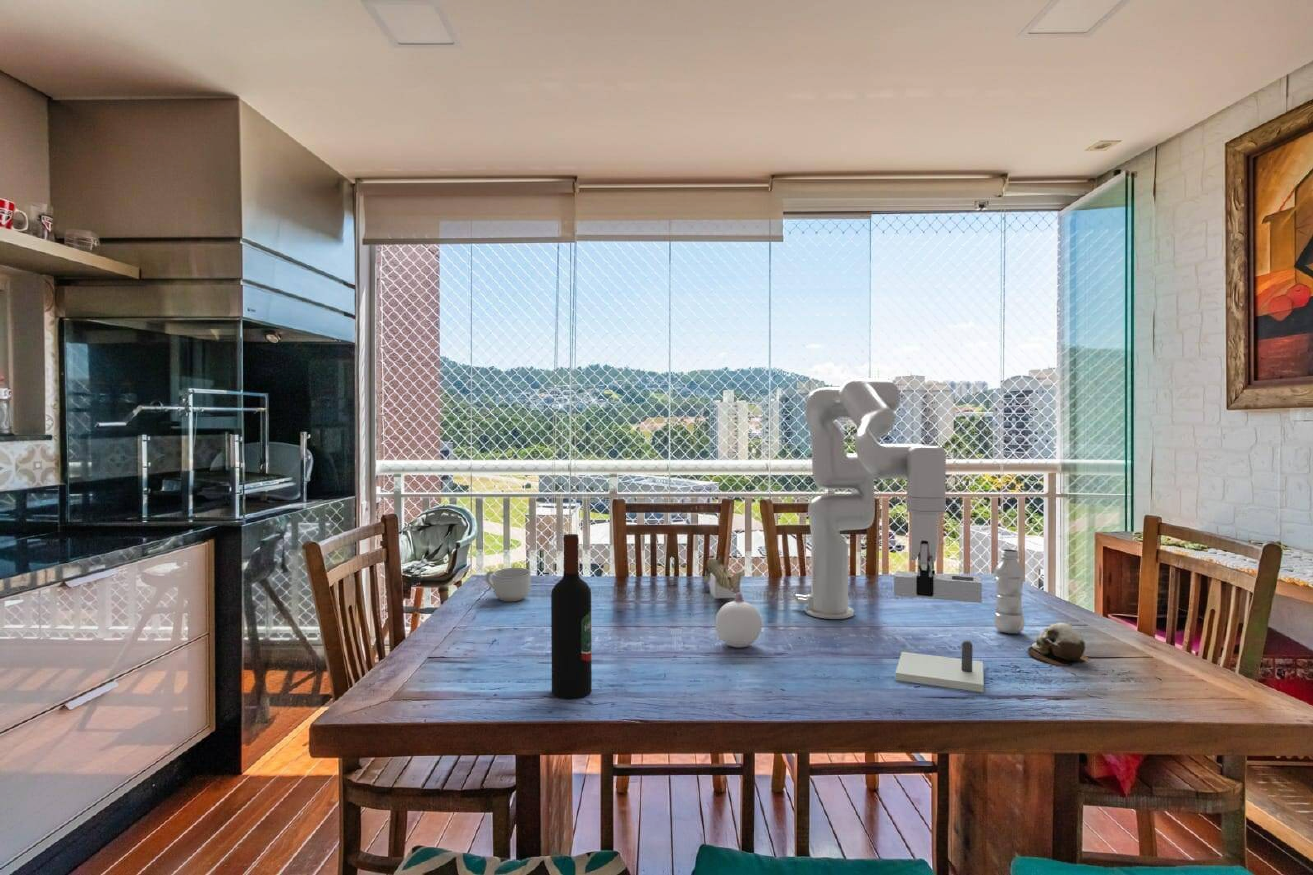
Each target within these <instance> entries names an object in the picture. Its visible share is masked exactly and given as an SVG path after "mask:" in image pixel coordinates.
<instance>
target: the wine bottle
mask: <svg viewBox="0 0 1313 875" xmlns="http://www.w3.org/2000/svg"><path fill="white" fill-rule="evenodd" d="M562 540H563V574H562V578H561V579H560V580H559V581H558V582H556V584H554V586H553V588H552V589H551V594H550V595H551V596H550V600H551V602H550V604H551V606H550V608H551V612H550V613H551V614H550V615H551V618H550V623H551V625H550V628H551V632H550V633H551V644H550V645H551V646H550V647H551V694H552V695H553V696H554V697H555V698H558V699H561V700H562V699H564V700H577V699H582V698H584V697H588V696H589V695H590V694H591V693H592V690H593V689H592V684H593V682H592V681H593V680H592V675H593V674H592V672H593V671H592V591H591V588H590V586H589V585H588V583H587V582H586V581H584V579H582V578H581V577H580V574H579V540H580V538H579V534H577V533H567V534H563V539H562Z"/></svg>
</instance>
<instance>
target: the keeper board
mask: <svg viewBox="0 0 1313 875" xmlns="http://www.w3.org/2000/svg"><path fill="white" fill-rule="evenodd" d="M894 680H895V681H900V682H906V683H915V684H919V685H920V684H921V685H929V686H934V687H935V686H937V687H941V688H950V689H956V690H957V689H958V690H963V691H970V692H971V691H972V692H979V693H984V686H985V685H984V661H980V660H974V659H973V643H972V642H971V641H970V640H964V641H962V643H961V658H956V657H947V656H941V655H939V656H938V655H931V654H925V653H924V654H923V653H917V652H916V653H915V652H908V651H901V653H900V657H899V660H898V663H897V666H896V669H895V678H894Z"/></svg>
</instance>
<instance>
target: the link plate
mask: <svg viewBox="0 0 1313 875" xmlns="http://www.w3.org/2000/svg"><path fill="white" fill-rule="evenodd" d="M916 576H917V571H906V570H905V571H903V570H896V572H895V574H894V576H893V581H894V582H893V591H894V592H893V596H896V597H907V598H908V597H909V598H919V599H920V598H921V599H929V600H930V599H931V600H943V601H953V602H966V603H976V604H982V603H983V601H982V596H983V595H982V594H983V593H982V592H983V590H982V587H983V584H982V583H983V582H982V576H973V575H972V576H971V575H960V574H946V573H935V574H932V576H933V596H932V597H930V596H919V595H917V594H916Z"/></svg>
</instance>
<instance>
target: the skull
mask: <svg viewBox="0 0 1313 875" xmlns="http://www.w3.org/2000/svg"><path fill="white" fill-rule="evenodd" d="M1085 649H1086V643H1085V640H1084V638H1083V637H1082V635H1081V634H1080V632H1078V631H1077V629H1075V628H1074V627H1073V626H1072V625H1070V624H1069V623H1064V622H1057V623H1052V624H1050V625H1049V627H1047V628H1045V629H1044V631H1042V632H1041V634H1040V635H1038V636H1036V641H1035V642H1033V643H1032V645H1031V646H1029V647H1028V648H1027V653H1028V654H1029V655H1030V656H1031V657H1033V658H1035V660H1036V659H1037V660H1039V661H1042V662H1045V663H1048V664H1051V665H1057V666H1060V667H1061V666H1062V667H1068V668H1069V667H1071V668H1073V667H1074V665H1076V664H1079V663H1080V664H1084V663H1085V664H1086V663H1087V664H1089V663H1091V662H1092V660H1091V659H1090V658H1089V657H1088V656H1087V655H1085Z"/></svg>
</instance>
